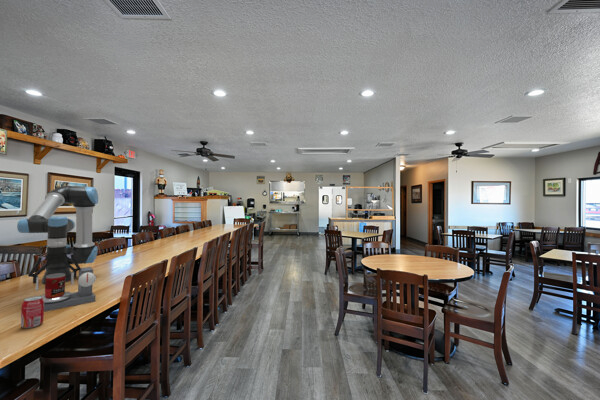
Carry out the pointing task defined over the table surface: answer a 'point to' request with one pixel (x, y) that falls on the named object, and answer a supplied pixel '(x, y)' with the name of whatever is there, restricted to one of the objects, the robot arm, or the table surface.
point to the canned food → (55, 285)
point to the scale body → (78, 297)
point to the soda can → (32, 312)
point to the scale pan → (65, 296)
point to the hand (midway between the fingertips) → (55, 286)
